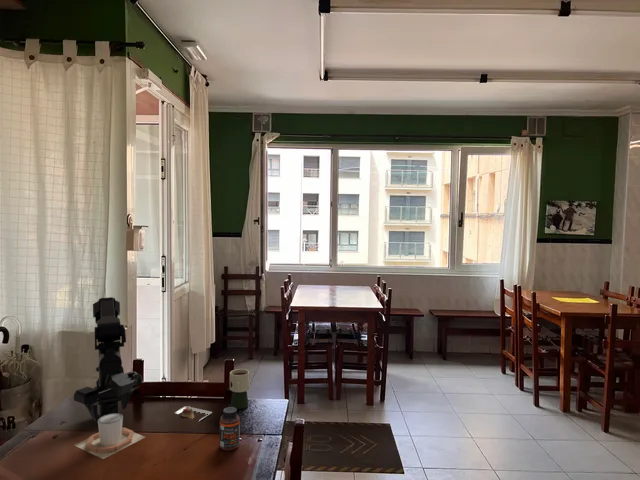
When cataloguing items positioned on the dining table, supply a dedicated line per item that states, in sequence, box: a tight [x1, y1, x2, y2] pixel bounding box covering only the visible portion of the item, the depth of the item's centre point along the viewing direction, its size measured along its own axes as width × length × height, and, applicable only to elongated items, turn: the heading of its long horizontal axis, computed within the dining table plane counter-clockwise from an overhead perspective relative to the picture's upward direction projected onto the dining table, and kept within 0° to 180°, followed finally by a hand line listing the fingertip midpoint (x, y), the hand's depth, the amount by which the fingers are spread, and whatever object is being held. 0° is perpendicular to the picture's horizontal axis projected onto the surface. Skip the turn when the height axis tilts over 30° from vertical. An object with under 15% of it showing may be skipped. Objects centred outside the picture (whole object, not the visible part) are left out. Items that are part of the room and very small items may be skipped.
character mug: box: [229, 368, 251, 410], centre depth 156 cm, size 11×7×13 cm, turn 4°
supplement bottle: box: [218, 406, 241, 452], centre depth 129 cm, size 6×6×11 cm
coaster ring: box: [86, 426, 135, 453], centre depth 129 cm, size 12×12×1 cm
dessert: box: [174, 405, 213, 422], centre depth 147 cm, size 12×12×5 cm
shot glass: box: [97, 413, 124, 446], centre depth 129 cm, size 7×7×7 cm
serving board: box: [73, 432, 146, 460], centre depth 129 cm, size 14×14×1 cm
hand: (110, 414), depth 129 cm, fingers open, 9 cm apart
